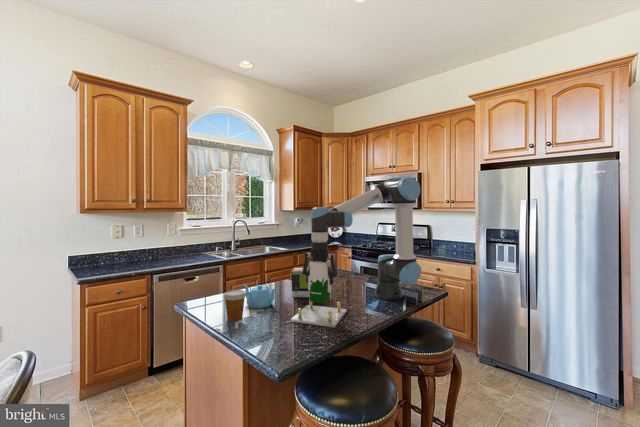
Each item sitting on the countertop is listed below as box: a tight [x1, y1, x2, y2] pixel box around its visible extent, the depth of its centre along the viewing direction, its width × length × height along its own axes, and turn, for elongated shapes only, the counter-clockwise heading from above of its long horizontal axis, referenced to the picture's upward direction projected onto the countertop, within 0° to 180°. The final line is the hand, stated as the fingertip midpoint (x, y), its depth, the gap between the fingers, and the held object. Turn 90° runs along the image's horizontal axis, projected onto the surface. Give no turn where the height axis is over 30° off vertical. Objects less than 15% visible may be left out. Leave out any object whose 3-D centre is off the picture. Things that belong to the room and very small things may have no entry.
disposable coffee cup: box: [223, 289, 246, 322], centre depth 142 cm, size 10×10×12 cm
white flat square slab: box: [290, 298, 347, 328], centre depth 145 cm, size 20×20×5 cm
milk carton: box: [308, 259, 331, 304], centre depth 144 cm, size 9×9×20 cm
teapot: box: [243, 283, 278, 310], centre depth 160 cm, size 15×15×10 cm
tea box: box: [290, 267, 310, 298], centre depth 178 cm, size 15×10×15 cm, turn 84°
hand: (319, 290), depth 144 cm, fingers closed on milk carton, 9 cm apart
